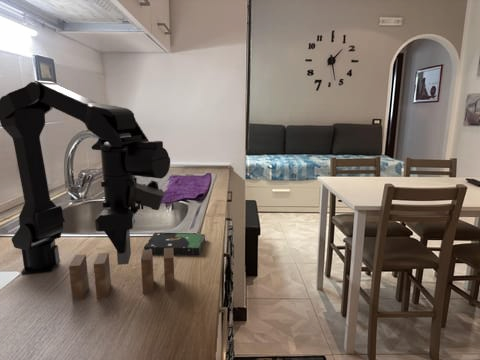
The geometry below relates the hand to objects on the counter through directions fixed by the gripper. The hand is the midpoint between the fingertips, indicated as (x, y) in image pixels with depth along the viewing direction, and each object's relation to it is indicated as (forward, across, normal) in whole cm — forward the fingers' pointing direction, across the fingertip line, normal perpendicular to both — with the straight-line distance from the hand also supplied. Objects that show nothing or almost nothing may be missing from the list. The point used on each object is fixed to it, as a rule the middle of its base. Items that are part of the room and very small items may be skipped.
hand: (123, 247), depth 69 cm
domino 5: (+9, 0, -9) cm, 13 cm away
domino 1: (+10, 0, +9) cm, 13 cm away
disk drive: (+10, +20, -11) cm, 25 cm away
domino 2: (+10, 0, +4) cm, 10 cm away
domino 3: (+2, 0, 0) cm, 3 cm away
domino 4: (+9, 0, -5) cm, 10 cm away
